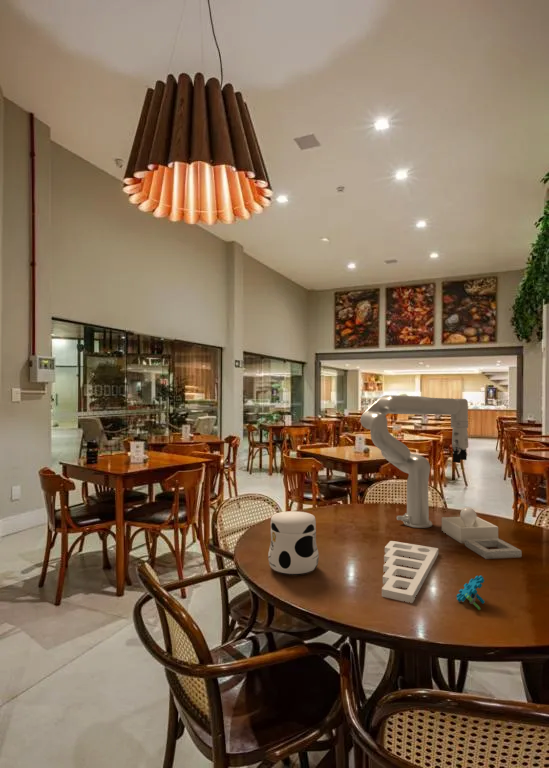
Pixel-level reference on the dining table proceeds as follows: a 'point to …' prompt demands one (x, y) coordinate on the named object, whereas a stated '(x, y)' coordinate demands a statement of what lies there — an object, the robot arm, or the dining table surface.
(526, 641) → the dining table surface
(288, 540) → the milk container
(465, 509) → the lightbulb
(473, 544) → the socket collar
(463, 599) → the blue lumpy piece
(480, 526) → the bin
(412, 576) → the holder
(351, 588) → the dining table surface
